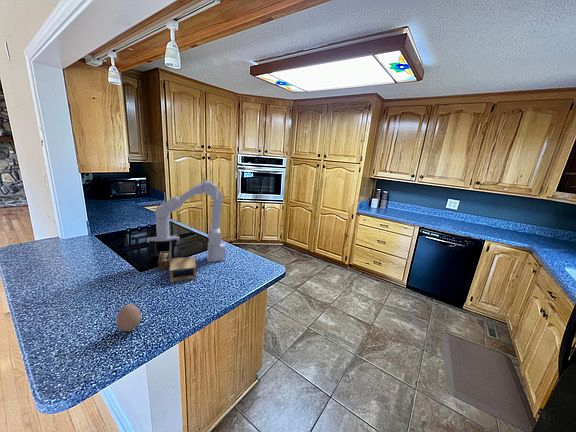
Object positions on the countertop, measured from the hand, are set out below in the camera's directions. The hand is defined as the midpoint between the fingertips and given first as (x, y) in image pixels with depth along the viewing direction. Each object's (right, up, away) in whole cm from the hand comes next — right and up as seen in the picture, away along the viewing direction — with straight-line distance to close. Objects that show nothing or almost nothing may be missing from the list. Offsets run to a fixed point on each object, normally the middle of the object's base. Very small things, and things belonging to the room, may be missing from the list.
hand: (164, 254), depth 120 cm
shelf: (+13, -9, -6) cm, 17 cm away
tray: (0, -5, +1) cm, 6 cm away
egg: (+11, -18, -43) cm, 48 cm away
